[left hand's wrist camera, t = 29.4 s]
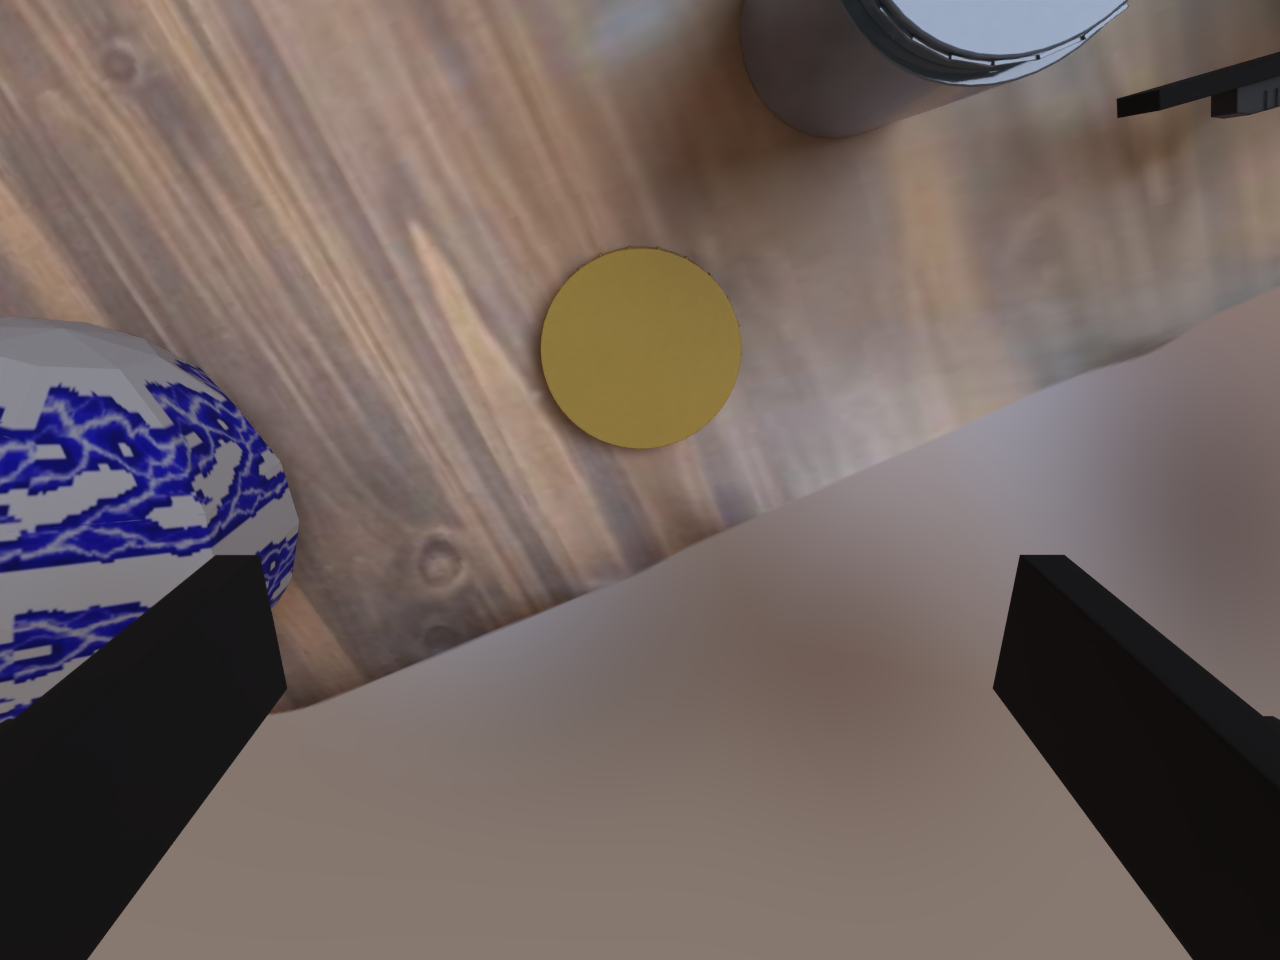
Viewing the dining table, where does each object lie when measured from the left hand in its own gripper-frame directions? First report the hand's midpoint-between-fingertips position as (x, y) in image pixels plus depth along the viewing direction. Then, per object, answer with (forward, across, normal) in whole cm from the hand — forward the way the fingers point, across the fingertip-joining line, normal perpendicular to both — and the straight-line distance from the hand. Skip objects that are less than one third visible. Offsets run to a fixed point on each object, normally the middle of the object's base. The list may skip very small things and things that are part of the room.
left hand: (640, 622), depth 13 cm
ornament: (+29, -27, -7) cm, 40 cm away
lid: (+27, 0, 0) cm, 27 cm away
